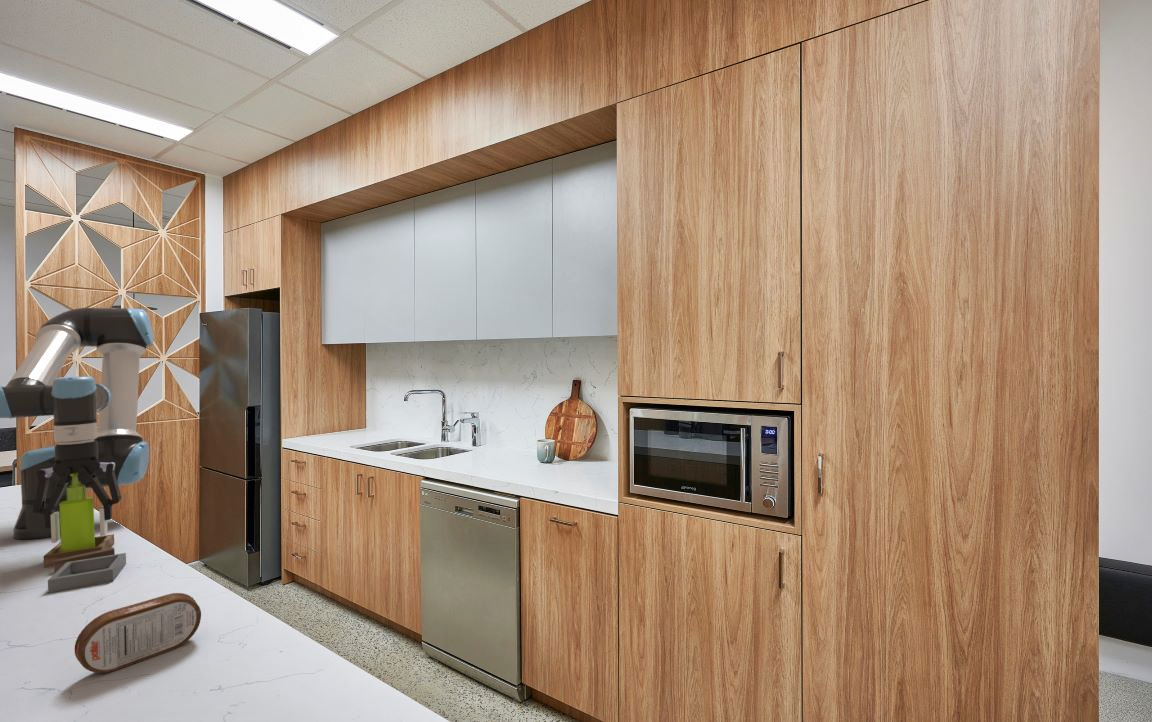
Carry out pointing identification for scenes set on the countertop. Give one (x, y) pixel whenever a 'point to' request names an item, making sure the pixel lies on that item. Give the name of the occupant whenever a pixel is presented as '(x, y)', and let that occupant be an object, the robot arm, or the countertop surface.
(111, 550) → the door edge rail
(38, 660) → the countertop surface
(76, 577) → the keeper frame
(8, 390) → the robot arm
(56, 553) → the walnut holder
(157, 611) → the tin
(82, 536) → the soap dispenser
